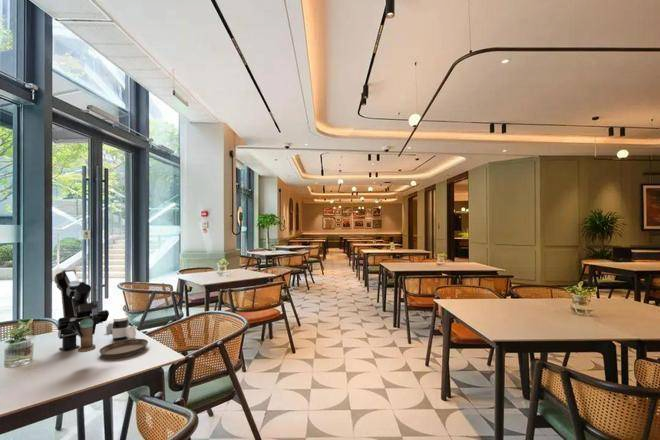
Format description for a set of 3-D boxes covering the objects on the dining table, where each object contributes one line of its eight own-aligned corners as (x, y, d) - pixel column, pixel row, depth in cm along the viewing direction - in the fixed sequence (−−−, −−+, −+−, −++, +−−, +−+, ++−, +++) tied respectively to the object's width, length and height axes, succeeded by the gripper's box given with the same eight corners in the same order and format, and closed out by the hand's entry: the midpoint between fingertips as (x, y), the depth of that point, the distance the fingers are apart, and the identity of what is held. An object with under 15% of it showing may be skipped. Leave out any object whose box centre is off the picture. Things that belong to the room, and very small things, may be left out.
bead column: (74, 351, 149) (74, 319, 149) (88, 346, 155) (88, 315, 155) (85, 352, 147) (84, 320, 148) (98, 347, 153) (98, 316, 154)
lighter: (106, 333, 197) (106, 319, 197) (106, 332, 198) (106, 319, 198) (120, 330, 201) (120, 317, 201) (120, 330, 203) (120, 316, 203)
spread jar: (114, 336, 191) (114, 315, 191) (137, 333, 195) (137, 313, 195) (110, 343, 180) (110, 321, 180) (134, 339, 184) (134, 318, 184)
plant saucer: (88, 361, 156) (88, 354, 156) (115, 345, 177) (115, 339, 177) (134, 359, 157) (134, 352, 157) (155, 344, 177) (155, 337, 178)
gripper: (58, 299, 147) (64, 330, 140) (107, 292, 161) (115, 320, 154) (54, 315, 152) (60, 345, 145) (102, 307, 166) (110, 334, 159)
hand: (87, 335), depth 151 cm, fingers closed on bead column, 4 cm apart
